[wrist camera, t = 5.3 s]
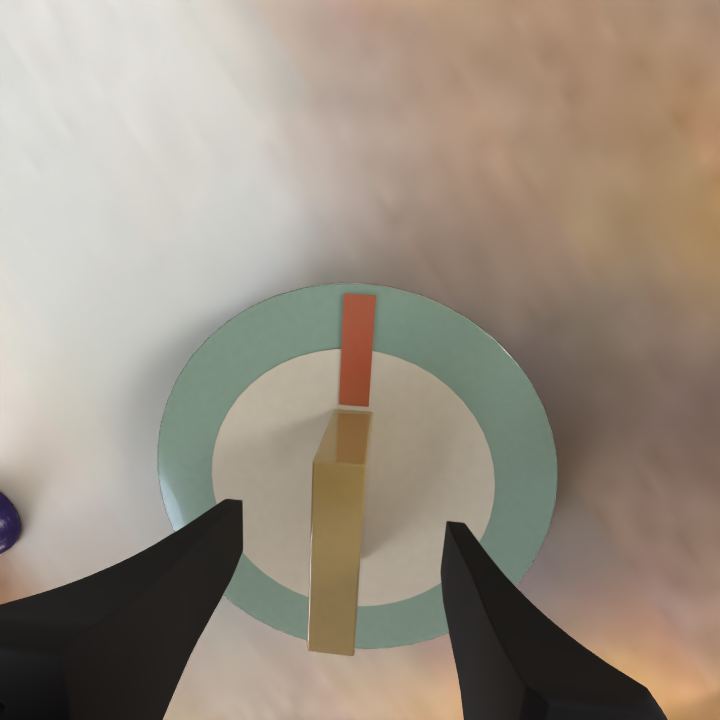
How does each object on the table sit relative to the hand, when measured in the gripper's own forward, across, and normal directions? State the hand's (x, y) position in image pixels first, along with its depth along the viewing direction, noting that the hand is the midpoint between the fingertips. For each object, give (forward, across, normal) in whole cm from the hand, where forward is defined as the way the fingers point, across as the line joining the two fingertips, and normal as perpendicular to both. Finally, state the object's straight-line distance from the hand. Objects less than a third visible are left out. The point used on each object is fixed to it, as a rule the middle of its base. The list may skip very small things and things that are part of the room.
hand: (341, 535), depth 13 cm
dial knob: (+4, 0, 0) cm, 4 cm away
